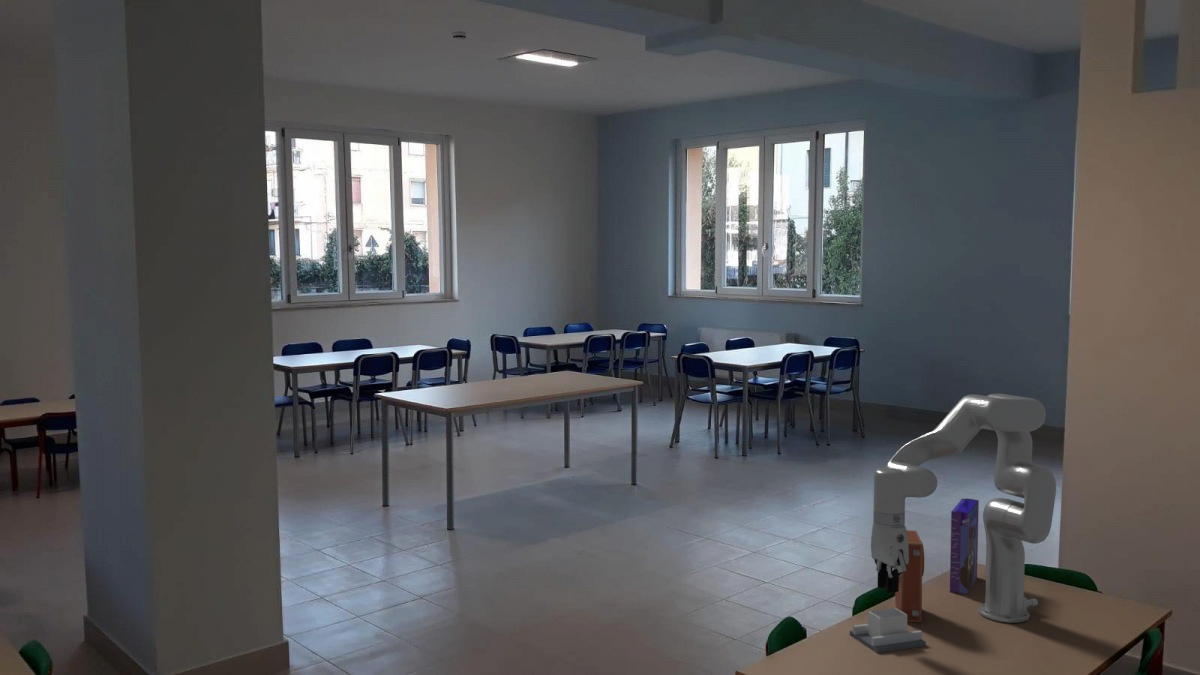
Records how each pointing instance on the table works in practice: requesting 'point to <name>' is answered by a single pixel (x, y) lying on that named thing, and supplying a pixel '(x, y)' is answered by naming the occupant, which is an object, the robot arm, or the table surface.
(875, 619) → the block
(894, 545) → the robot arm
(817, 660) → the table surface
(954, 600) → the table surface
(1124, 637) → the table surface
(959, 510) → the cereal box
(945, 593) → the table surface
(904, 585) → the orange upright battery pack
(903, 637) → the grey rail base plate
